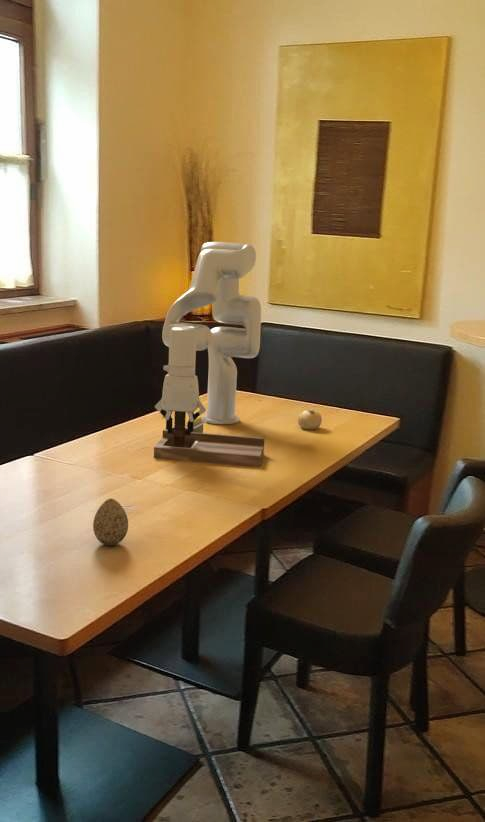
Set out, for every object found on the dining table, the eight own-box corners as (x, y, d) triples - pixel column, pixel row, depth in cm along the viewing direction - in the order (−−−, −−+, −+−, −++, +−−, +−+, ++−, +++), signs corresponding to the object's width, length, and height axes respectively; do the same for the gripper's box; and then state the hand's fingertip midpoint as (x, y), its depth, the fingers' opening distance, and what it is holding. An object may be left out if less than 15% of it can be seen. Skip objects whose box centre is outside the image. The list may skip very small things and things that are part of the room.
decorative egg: (85, 545, 167) (86, 499, 165) (108, 535, 173) (109, 490, 171) (112, 554, 163) (113, 507, 161) (134, 543, 169) (135, 498, 167)
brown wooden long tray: (162, 446, 240) (163, 429, 239) (263, 454, 237) (264, 438, 236) (153, 457, 229) (154, 440, 227) (259, 466, 226) (260, 449, 224)
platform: (164, 442, 246) (165, 421, 244) (189, 429, 262) (190, 409, 261) (201, 448, 242) (202, 426, 240) (223, 434, 258) (224, 414, 257)
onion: (292, 427, 270) (293, 406, 268) (308, 424, 275) (310, 403, 274) (309, 432, 264) (311, 411, 263) (326, 429, 270) (327, 408, 268)
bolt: (190, 445, 235) (192, 395, 232) (187, 450, 231) (189, 398, 227) (170, 443, 236) (172, 393, 232) (167, 448, 231) (168, 397, 228)
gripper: (149, 371, 225) (147, 434, 230) (209, 375, 224) (206, 439, 228) (155, 366, 233) (153, 427, 237) (213, 370, 231) (210, 432, 235)
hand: (179, 432), depth 232 cm, fingers closed on bolt, 5 cm apart
